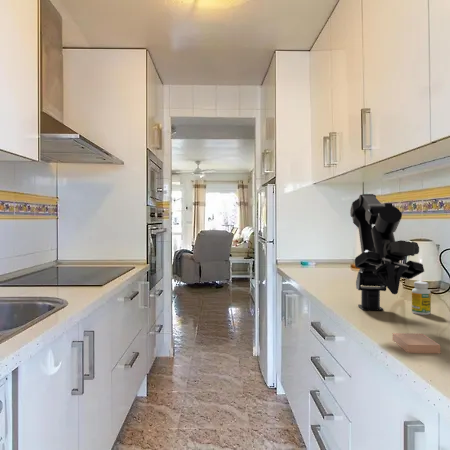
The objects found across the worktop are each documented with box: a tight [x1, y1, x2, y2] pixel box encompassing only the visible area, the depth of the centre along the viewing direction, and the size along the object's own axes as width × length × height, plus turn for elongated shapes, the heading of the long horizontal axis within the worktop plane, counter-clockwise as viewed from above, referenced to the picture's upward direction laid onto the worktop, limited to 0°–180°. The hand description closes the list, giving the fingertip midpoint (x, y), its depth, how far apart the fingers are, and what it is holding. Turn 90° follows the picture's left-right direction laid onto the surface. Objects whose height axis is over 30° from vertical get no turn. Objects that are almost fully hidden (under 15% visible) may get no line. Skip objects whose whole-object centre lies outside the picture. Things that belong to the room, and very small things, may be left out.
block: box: [392, 332, 441, 354], centre depth 91 cm, size 2×7×9 cm
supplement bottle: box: [411, 281, 432, 316], centre depth 124 cm, size 5×5×10 cm
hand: (395, 293), depth 104 cm, fingers closed
